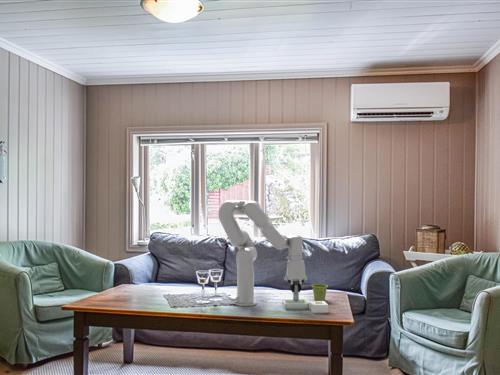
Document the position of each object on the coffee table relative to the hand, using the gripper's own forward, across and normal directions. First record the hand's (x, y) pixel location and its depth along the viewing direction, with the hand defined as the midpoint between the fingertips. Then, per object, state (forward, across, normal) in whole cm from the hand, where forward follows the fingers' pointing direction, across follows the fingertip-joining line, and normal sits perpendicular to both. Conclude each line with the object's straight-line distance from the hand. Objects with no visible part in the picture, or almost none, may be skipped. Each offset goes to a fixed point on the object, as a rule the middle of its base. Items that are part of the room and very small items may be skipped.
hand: (295, 291), depth 223 cm
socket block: (+9, +11, -8) cm, 16 cm away
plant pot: (+9, +17, +14) cm, 24 cm away
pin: (+5, 0, 0) cm, 5 cm away
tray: (+8, 0, 0) cm, 9 cm away
